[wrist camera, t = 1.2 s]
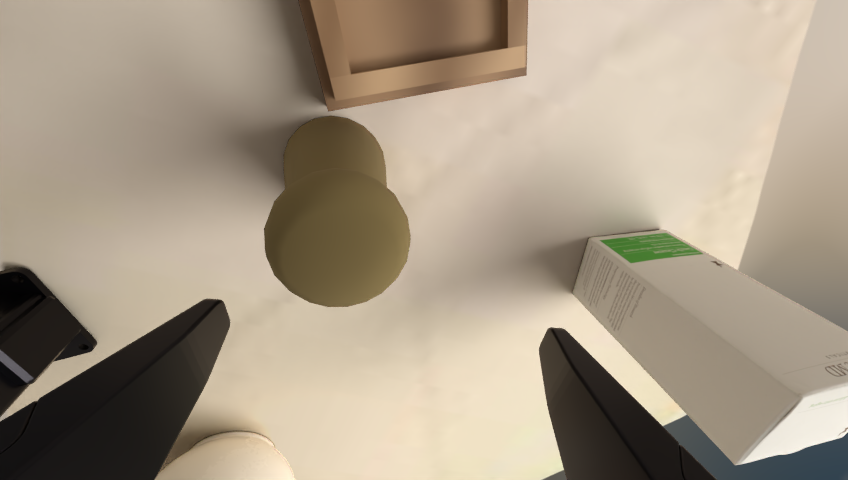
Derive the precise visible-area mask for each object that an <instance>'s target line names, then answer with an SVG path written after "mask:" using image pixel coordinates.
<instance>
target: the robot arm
mask: <svg viewBox="0 0 848 480" xmlns="http://www.w3.org/2000/svg"><path fill="white" fill-rule="evenodd" d="M17 275H18V276H21V277H22V278H23V279H22V278H20V277H18V276H17ZM229 327H230V319H229V316H228V313H227V310H226V307H225V304H224V302H223V301H222V300H218V299H205V300H202V301H201V302H199V303H197V304H196V305H194V306H192V307H191V308H189V309H187V310H186V311H184V312H182V313H181V314H179V315H177V316H176V317H174V318H172V319H171V320H169V321H167V322H166V323H164V324H162V325H161V326H159V327H157V328H156V329H154V330H152V331H151V332H149V333H147V334H146V335H144V336H142V337H141V338H139V339H137V340H136V341H134V342H132V343H131V344H129V345H127V346H126V347H124V348H122V349H121V350H119V351H117V352H116V353H114V354H112V355H111V356H109V357H107V358H106V359H104V360H102V361H101V362H99V363H97V364H96V365H94V366H92V367H91V368H89V369H87V370H86V371H84V372H82V373H81V374H79V375H77V376H76V377H74V378H72V379H71V380H69V381H68V382H66V383H64V384H63V385H61V386H59V387H58V388H56V389H54V390H53V391H51V392H49V393H48V394H46V395H44V396H43V397H41V398H40V399H39V400H38V401H34V402H32V403H31V404H29V405H27V406H26V407H24V408H22V409H21V410H19V411H17V412H16V413H14V414H12V415H11V416H9V417H7V418H6V419H4V420H2V421H1V422H0V480H155V478H156V476H157V474H158V472H159V471H160V469H161V467H162V465H163V463H164V461H165V459H166V458H167V456H168V454H169V452H170V450H171V448H172V446H173V445H174V443H175V441H176V439H177V437H178V435H179V433H180V432H181V430H182V428H183V426H184V424H185V422H186V420H187V419H188V417H189V415H190V413H191V411H192V409H193V407H194V406H195V404H196V402H197V400H198V398H199V396H200V394H201V393H202V391H203V389H204V387H205V385H206V383H207V381H208V379H209V376H210V374H211V372H212V369H213V367H214V364H215V362H216V359H217V357H218V355H219V352H220V350H221V347H222V345H223V342H224V340H225V337H226V335H227V333H228V330H229ZM84 344H85V345H84ZM96 345H97V341H96V340H95V339H94V338H93V337H92V336H91V334H90V333H89V332H88V331H87V330H86V329H85V328H84V327H83V326H82V325H81V324H80V323H79V322H78V320H77V319H76V318H75V317H74V316H73V315H72V314H71V313H70V312H69V311H68V310H67V309H66V308H65V307H64V305H63V304H62V303H61V302H60V301H59V300H58V299H57V298H56V297H55V296H54V295H53V294H52V293H51V291H50V290H49V289H48V288H47V287H46V286H45V285H44V284H43V283H42V282H41V281H40V280H39V279H38V278H37V276H36V275H35V274H34V273H33V272H31V271H30V270H28V269H26V268H14V269H9V270H4V271H0V417H1V416H2V415H3V414H4V412H5V411H6V410H7V409H8V408H9V407H10V406H11V405H12V404H13V403H14V401H15V400H16V399H17V398H18V397H19V396H20V395H21V394H22V393H23V392H24V390H25V389H26V388H27V387H28V386H29V385H30V384H32V383H34V382H35V381H36V380H37V379H38V378H39V377H40V376H41V374H42V373H43V372H44V371H45V370H46V369H47V368H48V367H49V366H50V365H51V363H52V362H54V361H57V360H61V359H65V358H69V357H73V356H77V355H80V354H84V353H88V352H91V351H92V350H93V349H94V348H95V346H96ZM539 355H540V362H541V368H542V375H543V381H544V388H545V394H546V400H547V406H548V410H549V414H550V418H551V422H552V426H553V430H554V433H555V437H556V441H557V445H558V448H559V452H560V456H561V460H562V463H563V467H564V471H565V475H566V478H567V480H717V479H716V478H715V477H714V476H713V475H712V474H711V473H709V472H708V471H707V470H706V469H705V468H704V467H703V466H702V465H701V464H700V463H699V462H698V461H697V460H696V459H695V458H694V457H693V456H692V455H691V454H690V453H689V452H688V451H687V450H686V449H685V448H684V447H683V446H682V445H679V443H678V441H676V439H675V438H674V437H673V436H672V435H671V434H670V433H669V432H668V431H667V430H666V429H665V428H664V427H663V426H662V425H661V424H660V423H659V422H658V421H657V420H656V419H655V418H654V417H653V416H652V415H651V414H650V413H649V412H648V411H647V410H646V409H645V408H644V407H643V406H642V405H641V404H640V403H639V402H638V401H637V400H636V399H635V398H634V397H633V396H632V395H631V394H629V393H628V392H627V391H626V390H625V389H624V388H623V387H622V386H621V385H620V384H619V383H618V382H617V381H616V380H615V379H614V378H613V377H612V376H611V375H610V374H609V373H608V372H607V371H606V370H605V369H604V368H603V367H602V366H601V365H600V364H599V363H598V362H597V361H596V360H595V359H594V358H593V357H592V356H591V355H590V354H589V353H588V352H587V351H586V350H585V349H584V348H583V347H582V346H581V345H580V344H579V343H578V342H577V341H576V340H575V339H574V338H573V337H572V336H571V335H570V334H569V333H568V332H567V331H566V330H565V329H562V328H552V327H551V328H549V329H548V330H547V331H546V334H545V336H544V338H543V340H542V342H541V344H540V348H539Z"/></svg>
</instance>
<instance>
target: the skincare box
mask: <svg viewBox="0 0 848 480" xmlns="http://www.w3.org/2000/svg"><path fill="white" fill-rule="evenodd" d="M572 293H573V295H574V296H575V297H576V298H577V299H578V300H579V301H580V302H581V303H582V304H583V305H584V307H585V308H586V309H587V310H588V311H589V312H590V313H591V314H592V315H593V316H594V317H595V318H596V319H597V320H598V321H599V322H600V323H601V324H602V325H603V326H604V327H605V329H606V330H607V331H608V332H609V333H610V334H611V335H612V336H613V337H614V338H615V339H616V340H617V341H618V342H619V343H620V344H621V345H622V346H623V347H624V348H625V350H626V351H627V352H628V353H629V354H630V355H631V356H632V357H633V358H634V359H635V360H636V361H637V362H638V363H639V364H640V365H641V366H642V367H643V369H644V370H645V371H646V372H647V373H648V374H649V375H650V376H651V377H652V378H653V379H654V380H655V381H656V382H657V383H658V384H659V385H660V386H661V387H662V388H663V389H664V391H665V392H666V393H667V394H668V395H669V396H670V397H671V398H672V399H673V400H674V401H675V402H676V403H677V404H678V405H679V406H680V407H681V408H682V410H683V411H684V412H685V413H686V414H687V415H689V417H690V418H691V419H692V420H693V421H694V422H695V423H696V424H697V425H698V426H699V427H700V428H701V430H702V431H703V432H704V433H705V434H706V435H707V436H708V437H709V438H710V439H711V440H712V441H713V442H714V443H715V444H716V445H717V446H718V447H719V448H720V450H721V451H722V452H723V453H724V454H725V455H726V456H727V457H728V458H729V459H730V460H731V461H732V462H733V463H734V464H735V465H739V464H744V463H748V462H752V461H755V460H759V459H763V458H767V457H771V456H775V455H779V454H780V455H785V454H790V453H793V452H796V451H799V450H801V449H803V448H805V447H809V446H812V445H816V444H819V443H823V442H827V441H831V440H834V439H838V438H841V437H843V436H844V435H845V434H846V433H847V432H848V331H846V330H844V329H843V328H841V327H839V326H837V325H835V324H833V323H832V322H830V321H828V320H826V319H825V318H823V317H821V316H819V315H817V314H816V313H814V312H812V311H810V310H808V309H806V308H805V307H803V306H801V305H799V304H797V303H796V302H794V301H792V300H790V299H788V298H787V297H785V296H783V295H781V294H780V293H778V292H776V291H774V290H772V289H770V288H768V287H767V286H765V285H763V284H762V283H760V282H758V281H756V280H754V279H753V278H751V277H749V276H747V275H745V274H743V273H741V272H740V271H738V270H736V269H734V268H733V267H731V266H729V265H727V264H726V263H724V262H722V261H720V260H718V259H717V258H715V257H713V256H711V255H709V254H708V253H706V252H704V251H702V250H700V249H698V248H697V247H695V246H693V245H691V244H690V243H688V242H686V241H684V240H682V239H680V238H679V237H677V236H675V235H673V234H672V233H670V232H668V231H666V230H656V231H647V232H636V233H628V234H619V235H610V236H599V237H591V238H589V239H588V242H587V246H586V249H585V253H584V256H583V259H582V263H581V266H580V269H579V273H578V276H577V279H576V283H575V286H574V289H573V292H572Z"/></svg>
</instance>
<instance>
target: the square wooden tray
mask: <svg viewBox="0 0 848 480" xmlns="http://www.w3.org/2000/svg"><path fill="white" fill-rule="evenodd" d="M298 1H299V5H300V9H301V12H302V16H303V20H304V23H305V27H306V31H307V34H308V38H309V42H310V46H311V49H312V53H313V57H314V60H315V64H316V68H317V71H318V75H319V79H320V83H321V86H322V90H323V94H324V97H325V101H326V105H327V108H328V111H333V110H339V109H344V108H350V107H355V106H361V105H366V104H372V103H377V102H383V101H388V100H394V99H399V98H405V97H410V96H415V95H421V94H426V93H432V92H437V91H443V90H448V89H454V88H459V87H465V86H470V85H476V84H481V83H487V82H492V81H498V80H503V79H509V78H514V77H520V76H525V75H526V70H527V25H528V0H298Z"/></svg>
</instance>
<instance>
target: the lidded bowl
mask: <svg viewBox="0 0 848 480" xmlns="http://www.w3.org/2000/svg"><path fill="white" fill-rule="evenodd" d="M155 480H295V477H294V474H293V471H292V469H291V467H290V465H289V463H288V462H287V460H286V459H285V458H284V456H283V455H282V454H281V453H280V452H279V451H278V450H277V449H275V446H274V444H273V443H272V442H271V441H270V440H269V439H268V438H266V437H264V436H263V435H260V434H257V433H252V432H245V431H233V432H225V433H220V434H216V435H213V436H210V437H208V438H205V439H203V440H202V441H200V442H198V443H197V444H196V445H194V446H193V447H192V448H191V450H189V451H187V452H186V453H184V454H183V455H181V456H180V457H178V458H177V459H175V460H174V461H173V462H171V463H170V464H169V465H168V466H167V467H165V468H164V469H163V470H162V471H161V472H160V473H159V474H158V475H157V476H156V478H155Z"/></svg>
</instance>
